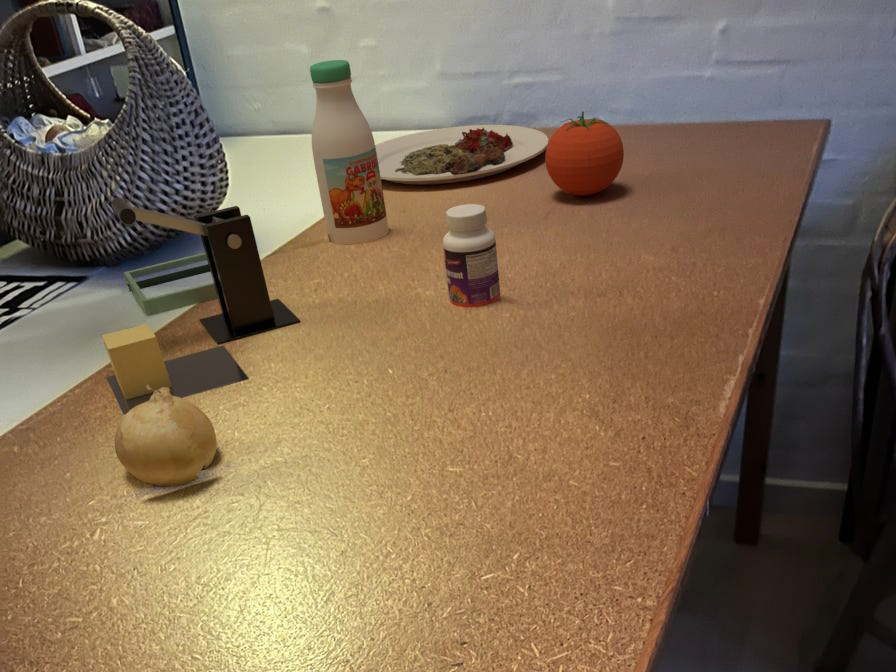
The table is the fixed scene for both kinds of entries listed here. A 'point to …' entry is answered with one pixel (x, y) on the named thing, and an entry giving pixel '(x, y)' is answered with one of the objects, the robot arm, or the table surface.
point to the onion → (165, 440)
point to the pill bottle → (470, 257)
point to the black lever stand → (238, 280)
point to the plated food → (457, 153)
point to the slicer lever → (157, 218)
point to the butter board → (190, 376)
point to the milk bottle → (345, 159)
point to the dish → (174, 298)
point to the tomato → (584, 156)
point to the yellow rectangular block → (136, 360)
